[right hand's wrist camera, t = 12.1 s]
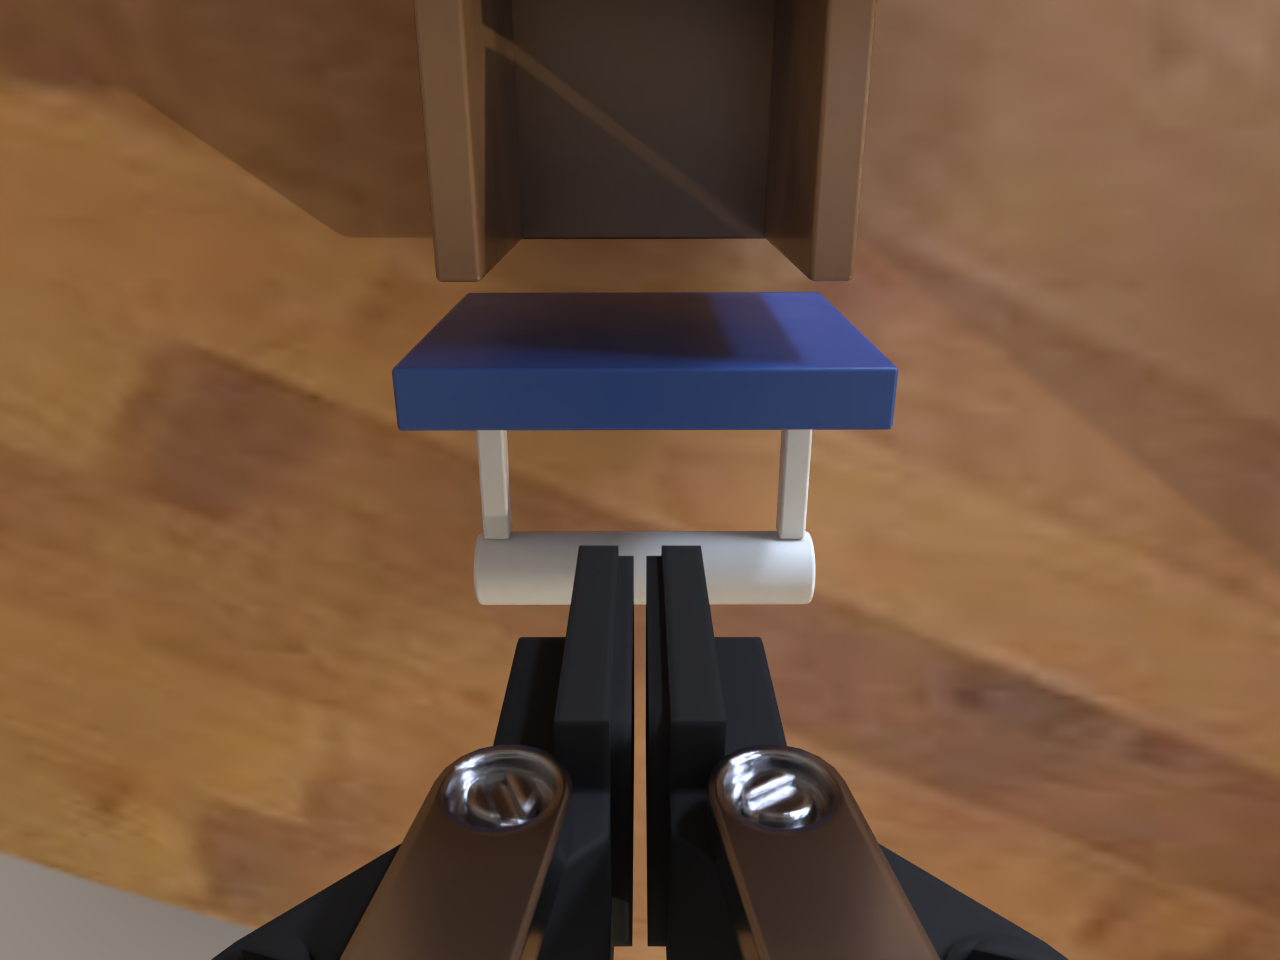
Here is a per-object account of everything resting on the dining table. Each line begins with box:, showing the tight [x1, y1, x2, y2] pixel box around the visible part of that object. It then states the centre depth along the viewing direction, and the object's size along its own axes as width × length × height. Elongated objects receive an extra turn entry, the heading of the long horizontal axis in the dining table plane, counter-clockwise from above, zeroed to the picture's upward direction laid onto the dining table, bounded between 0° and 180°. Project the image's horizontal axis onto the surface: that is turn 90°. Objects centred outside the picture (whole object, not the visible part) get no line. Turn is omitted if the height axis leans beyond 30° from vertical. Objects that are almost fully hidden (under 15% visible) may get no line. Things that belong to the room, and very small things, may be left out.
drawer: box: [392, 0, 898, 605], centre depth 18 cm, size 21×9×8 cm, turn 0°
